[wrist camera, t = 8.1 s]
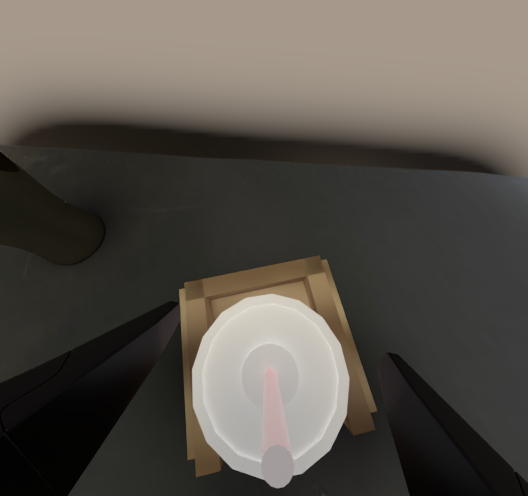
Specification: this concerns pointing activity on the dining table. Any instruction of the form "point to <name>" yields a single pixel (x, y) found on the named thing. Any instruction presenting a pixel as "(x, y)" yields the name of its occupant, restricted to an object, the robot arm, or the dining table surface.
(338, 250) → the dining table surface
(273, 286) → the tray
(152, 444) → the dining table surface
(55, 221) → the beer glass
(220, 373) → the beverage cup
